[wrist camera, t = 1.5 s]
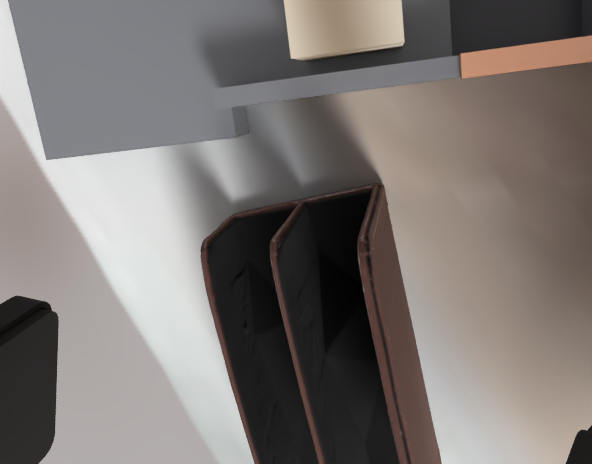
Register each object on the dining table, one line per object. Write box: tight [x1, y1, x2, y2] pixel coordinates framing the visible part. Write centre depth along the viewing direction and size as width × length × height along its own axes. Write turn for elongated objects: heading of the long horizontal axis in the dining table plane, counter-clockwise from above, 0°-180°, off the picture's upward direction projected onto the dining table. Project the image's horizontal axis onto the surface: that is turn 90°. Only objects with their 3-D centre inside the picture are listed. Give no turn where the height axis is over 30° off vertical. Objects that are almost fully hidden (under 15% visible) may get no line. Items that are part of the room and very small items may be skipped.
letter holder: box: [201, 184, 442, 464], centre depth 30 cm, size 10×20×14 cm, turn 14°
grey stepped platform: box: [8, 0, 592, 160], centre depth 28 cm, size 34×12×6 cm, turn 97°
